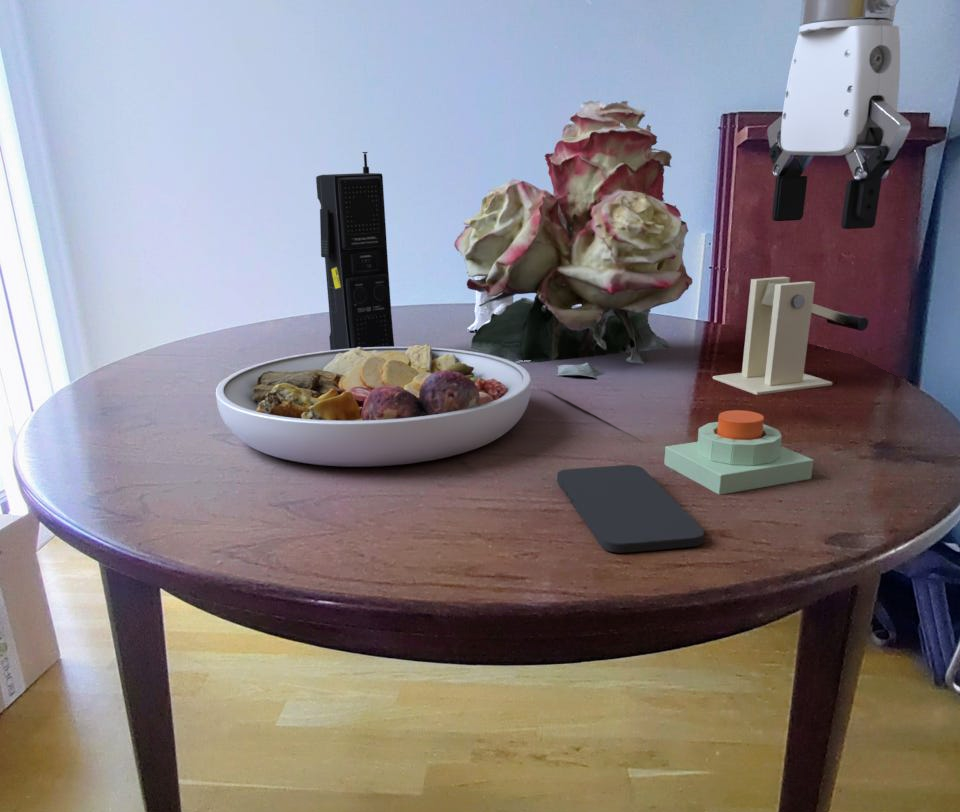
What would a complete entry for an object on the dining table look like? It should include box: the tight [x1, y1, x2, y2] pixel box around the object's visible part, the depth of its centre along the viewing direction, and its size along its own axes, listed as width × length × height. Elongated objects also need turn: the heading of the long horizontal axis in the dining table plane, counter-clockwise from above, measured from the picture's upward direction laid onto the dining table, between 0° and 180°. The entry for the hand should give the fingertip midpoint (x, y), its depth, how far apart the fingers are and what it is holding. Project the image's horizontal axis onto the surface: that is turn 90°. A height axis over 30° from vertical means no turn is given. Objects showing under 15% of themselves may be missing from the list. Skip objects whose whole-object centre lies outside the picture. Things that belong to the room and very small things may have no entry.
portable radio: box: [315, 151, 395, 350], centre depth 112 cm, size 8×6×25 cm
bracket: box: [712, 276, 833, 396], centre depth 98 cm, size 10×8×12 cm
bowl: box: [215, 343, 532, 468], centre depth 88 cm, size 30×30×8 cm
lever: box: [761, 283, 869, 332], centre depth 99 cm, size 12×5×2 cm, turn 111°
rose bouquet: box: [454, 100, 693, 381], centre depth 109 cm, size 26×29×30 cm
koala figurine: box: [459, 252, 514, 330], centre depth 133 cm, size 8×7×12 cm
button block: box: [663, 421, 814, 495], centre depth 75 cm, size 9×8×4 cm
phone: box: [556, 464, 706, 554], centre depth 68 cm, size 7×1×15 cm
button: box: [717, 409, 765, 440], centre depth 74 cm, size 4×4×2 cm
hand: (820, 224), depth 84 cm, fingers open, 9 cm apart
